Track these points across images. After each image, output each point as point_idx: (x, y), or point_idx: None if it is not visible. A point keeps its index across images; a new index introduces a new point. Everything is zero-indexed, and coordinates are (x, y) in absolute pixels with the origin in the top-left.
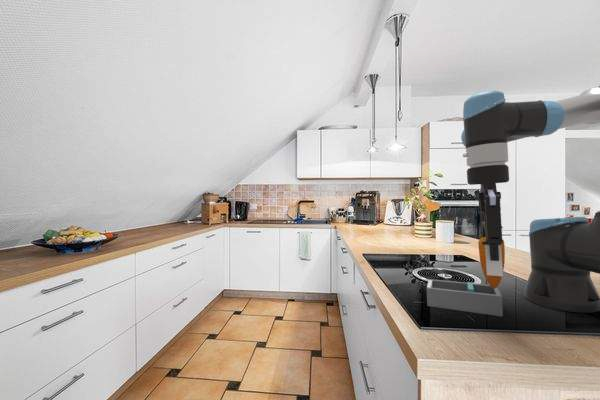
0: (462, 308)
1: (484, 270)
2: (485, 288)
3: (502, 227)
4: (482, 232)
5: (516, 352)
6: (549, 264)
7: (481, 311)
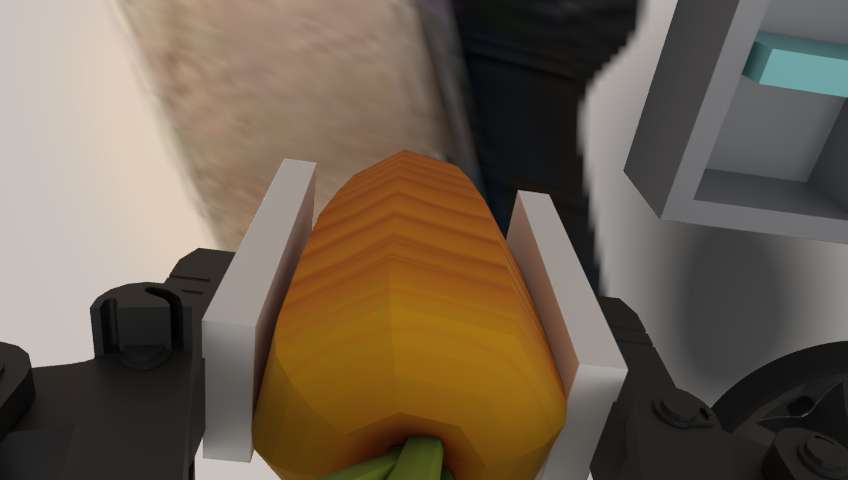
0: None
1: (380, 166)
2: None
3: None
4: (706, 464)
5: (248, 114)
6: None
7: (658, 79)
